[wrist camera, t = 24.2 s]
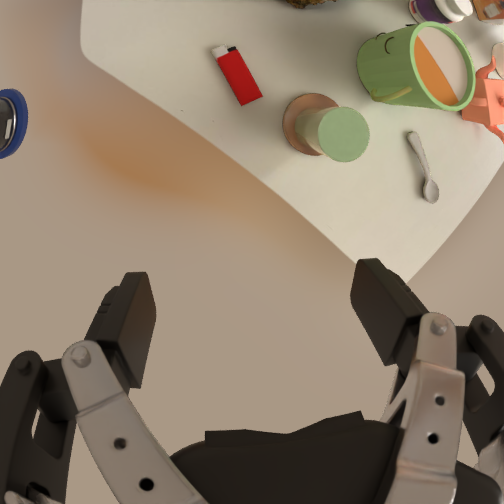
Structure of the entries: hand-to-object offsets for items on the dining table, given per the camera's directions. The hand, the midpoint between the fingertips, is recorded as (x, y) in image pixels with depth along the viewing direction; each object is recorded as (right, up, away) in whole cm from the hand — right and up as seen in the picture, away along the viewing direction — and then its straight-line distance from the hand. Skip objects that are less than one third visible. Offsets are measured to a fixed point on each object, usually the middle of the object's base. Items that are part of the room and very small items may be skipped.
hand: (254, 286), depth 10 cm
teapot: (+36, +27, +19) cm, 49 cm away
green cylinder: (+8, +16, +21) cm, 28 cm away
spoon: (+25, +14, +25) cm, 38 cm away
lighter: (-2, +22, +18) cm, 29 cm away
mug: (+17, +25, +18) cm, 36 cm away
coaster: (+8, +17, +21) cm, 28 cm away
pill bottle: (+25, +37, +13) cm, 46 cm away
